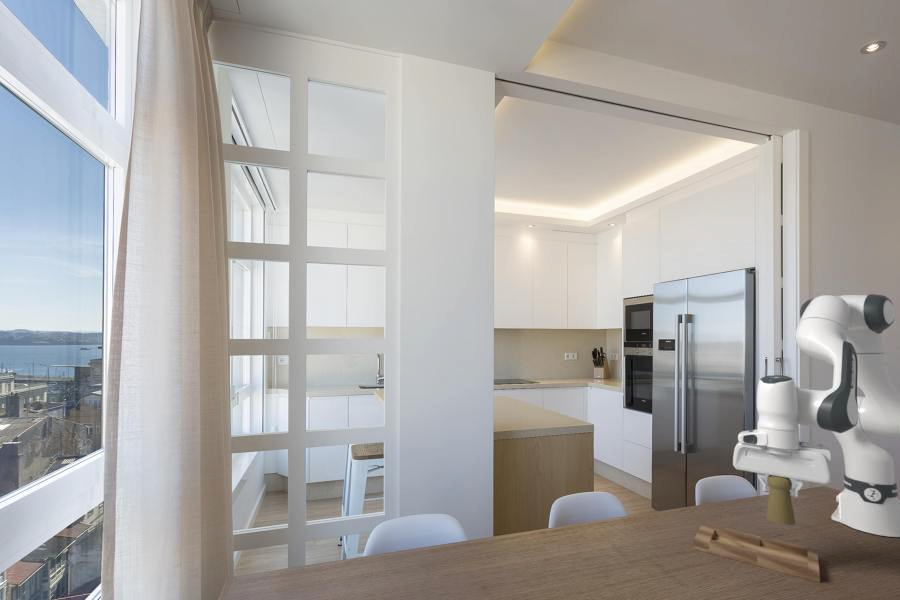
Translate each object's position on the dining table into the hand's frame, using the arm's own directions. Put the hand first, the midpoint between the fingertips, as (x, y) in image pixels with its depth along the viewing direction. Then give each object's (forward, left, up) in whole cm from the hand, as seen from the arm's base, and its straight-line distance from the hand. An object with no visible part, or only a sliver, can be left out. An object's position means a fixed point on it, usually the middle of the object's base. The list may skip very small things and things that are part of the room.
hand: (780, 494), depth 115 cm
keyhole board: (0, -6, -17) cm, 18 cm away
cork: (0, 0, -7) cm, 7 cm away
